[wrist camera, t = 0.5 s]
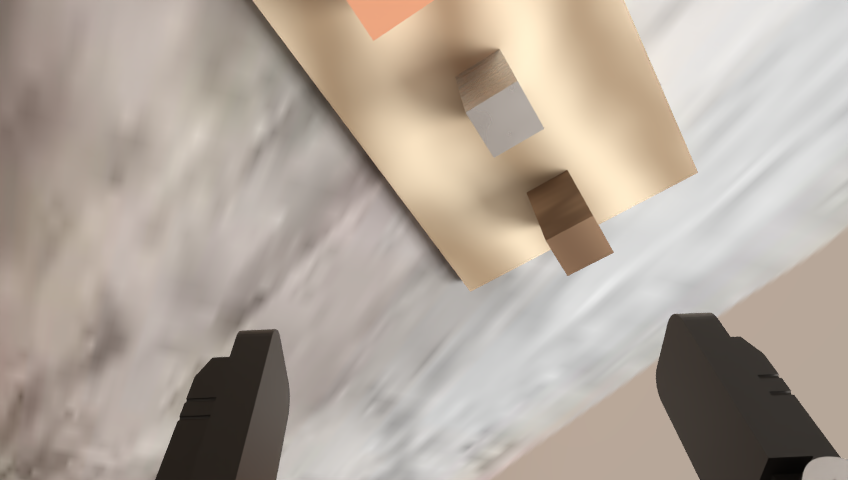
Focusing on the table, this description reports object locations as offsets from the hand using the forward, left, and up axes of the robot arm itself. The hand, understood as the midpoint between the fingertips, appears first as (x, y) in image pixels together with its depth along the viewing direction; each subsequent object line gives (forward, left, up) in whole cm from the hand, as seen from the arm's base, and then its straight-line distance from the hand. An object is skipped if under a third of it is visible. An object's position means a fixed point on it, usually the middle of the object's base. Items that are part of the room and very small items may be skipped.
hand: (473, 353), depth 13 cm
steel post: (-2, +3, -22) cm, 22 cm away
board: (-2, +2, -23) cm, 23 cm away
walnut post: (-2, +11, -22) cm, 24 cm away
